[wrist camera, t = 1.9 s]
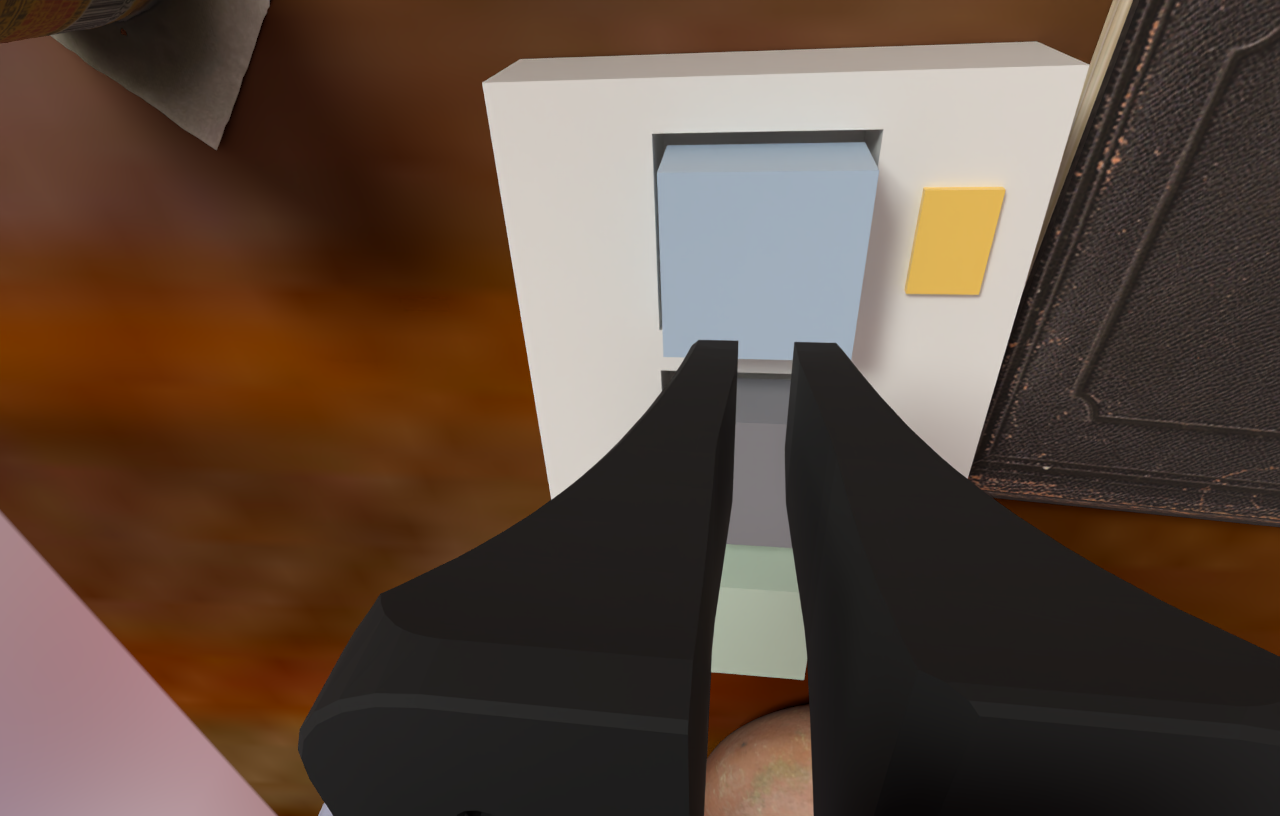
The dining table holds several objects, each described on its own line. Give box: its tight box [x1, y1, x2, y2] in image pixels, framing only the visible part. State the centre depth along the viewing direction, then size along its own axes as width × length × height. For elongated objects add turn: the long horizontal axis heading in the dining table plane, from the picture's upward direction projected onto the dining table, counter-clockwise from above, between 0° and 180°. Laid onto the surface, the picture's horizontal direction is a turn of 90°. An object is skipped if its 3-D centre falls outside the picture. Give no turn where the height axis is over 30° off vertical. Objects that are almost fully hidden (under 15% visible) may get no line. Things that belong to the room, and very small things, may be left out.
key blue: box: [657, 142, 879, 360], centre depth 15 cm, size 4×4×2 cm
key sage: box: [711, 544, 807, 680], centre depth 22 cm, size 4×4×2 cm
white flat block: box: [482, 42, 1089, 500], centre depth 20 cm, size 19×12×3 cm, turn 3°
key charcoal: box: [726, 378, 792, 548], centre depth 19 cm, size 4×4×2 cm
